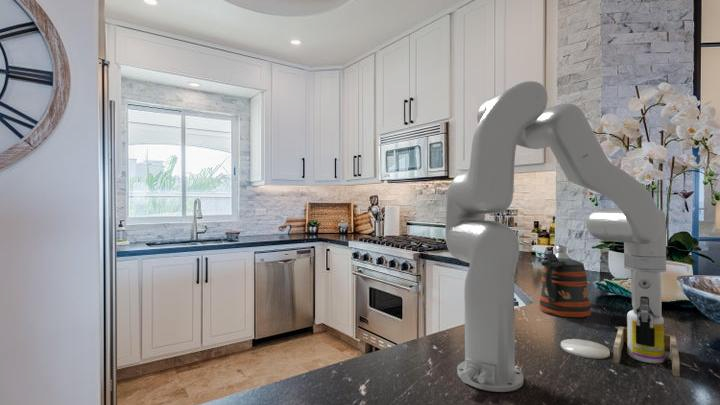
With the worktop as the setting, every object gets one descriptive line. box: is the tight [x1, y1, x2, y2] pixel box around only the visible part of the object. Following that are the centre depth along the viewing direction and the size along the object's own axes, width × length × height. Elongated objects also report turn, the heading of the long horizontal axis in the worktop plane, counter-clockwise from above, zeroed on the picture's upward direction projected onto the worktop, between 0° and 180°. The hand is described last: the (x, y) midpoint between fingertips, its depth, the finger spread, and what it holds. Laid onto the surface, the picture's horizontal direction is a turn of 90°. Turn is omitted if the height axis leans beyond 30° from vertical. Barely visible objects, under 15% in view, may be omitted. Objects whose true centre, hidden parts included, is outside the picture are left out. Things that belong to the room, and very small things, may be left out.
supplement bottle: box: [626, 300, 666, 365], centre depth 83 cm, size 7×7×13 cm
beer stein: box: [538, 252, 592, 319], centre depth 118 cm, size 19×15×20 cm
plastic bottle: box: [554, 245, 570, 259], centre depth 132 cm, size 6×7×20 cm
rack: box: [612, 326, 680, 377], centre depth 84 cm, size 17×11×4 cm, turn 141°
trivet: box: [560, 338, 611, 360], centre depth 88 cm, size 10×10×1 cm
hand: (645, 338), depth 83 cm, fingers open, 9 cm apart
